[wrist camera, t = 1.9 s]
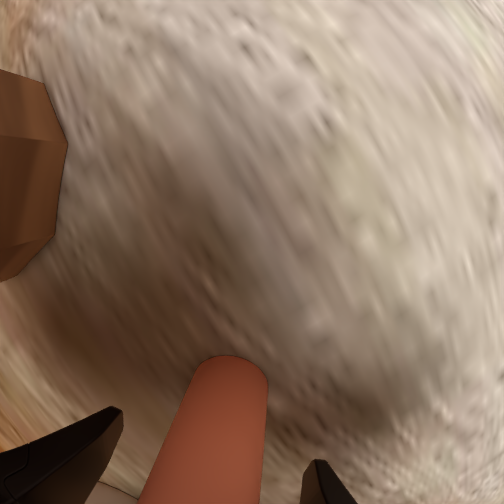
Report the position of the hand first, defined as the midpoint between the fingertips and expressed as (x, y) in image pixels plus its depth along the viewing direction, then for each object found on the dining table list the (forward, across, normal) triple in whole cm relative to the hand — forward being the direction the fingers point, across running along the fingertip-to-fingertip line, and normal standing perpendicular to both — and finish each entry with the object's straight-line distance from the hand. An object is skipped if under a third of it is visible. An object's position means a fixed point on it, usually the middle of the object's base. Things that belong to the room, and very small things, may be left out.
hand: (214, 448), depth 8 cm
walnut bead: (+3, +13, -6) cm, 15 cm away
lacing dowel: (+3, 0, 0) cm, 3 cm away
